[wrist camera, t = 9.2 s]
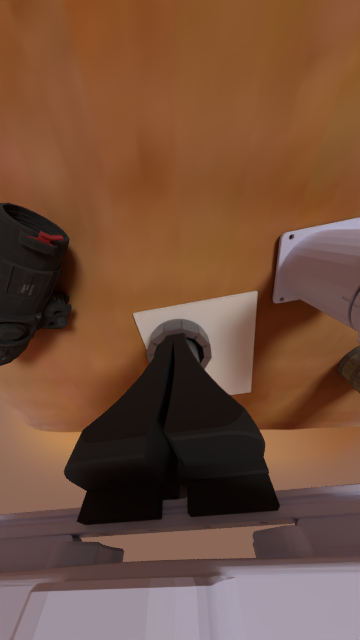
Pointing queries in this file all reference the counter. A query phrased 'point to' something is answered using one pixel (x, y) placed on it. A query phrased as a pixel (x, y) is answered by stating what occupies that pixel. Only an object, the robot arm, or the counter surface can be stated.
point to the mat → (216, 335)
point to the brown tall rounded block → (351, 368)
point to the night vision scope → (29, 278)
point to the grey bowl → (178, 327)
